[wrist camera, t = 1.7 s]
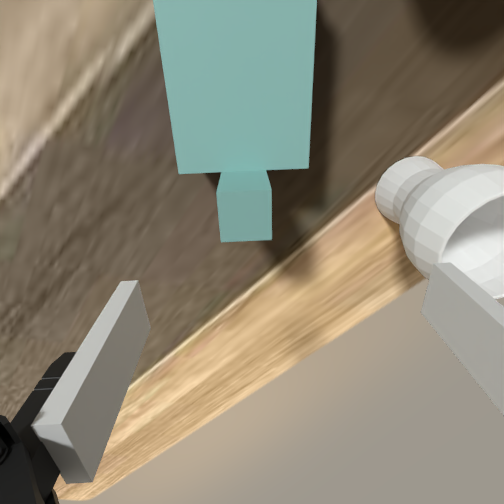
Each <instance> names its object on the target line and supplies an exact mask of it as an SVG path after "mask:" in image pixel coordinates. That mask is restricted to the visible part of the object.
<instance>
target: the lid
mask: <svg viewBox="0 0 504 504" xmlns="http://www.w3.org/2000/svg"><path fill="white" fill-rule="evenodd" d="M153 3H154V10H155V17H156V24H157V30H158V37H159V44H160V51H161V57H162V64H163V71H164V78H165V84H166V91H167V98H168V105H169V111H170V118H171V125H172V132H173V138H174V145H175V152H176V159H177V165H178V172H179V174H190V173H213V172H221V176H220V180H219V184H218V188H217V192H216V195H217V205H218V216H219V227H220V237H221V242H235V241H257V240H272V190H271V186H270V182H269V179H268V175H267V172H266V170H283V169H306V168H309V150H310V130H311V109H312V89H313V69H314V49H315V28H316V8H317V0H153Z"/></svg>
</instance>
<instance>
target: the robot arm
mask: <svg viewBox="0 0 504 504" xmlns="http://www.w3.org/2000/svg"><path fill="white" fill-rule="evenodd" d="M421 313H422V315H423V316H424V317H425V318H426V320H427V321H428V322H429V323H430V325H431V326H432V327H433V328H434V329H435V331H436V332H437V333H438V334H439V336H440V337H441V338H442V340H443V341H444V342H445V343H446V345H447V346H448V347H449V348H450V349H451V351H452V352H453V353H454V355H456V357H457V358H458V360H459V361H460V362H461V363H462V365H463V366H464V367H465V368H466V370H467V371H468V372H469V373H470V375H471V376H472V377H473V378H474V380H475V381H476V382H477V383H478V385H480V387H481V388H482V389H483V391H484V392H485V393H486V395H487V396H488V397H489V398H490V400H491V401H492V402H493V403H494V404H495V406H496V407H497V408H498V409H499V411H500V412H501V413H502V414H503V416H504V306H502V305H501V304H500V303H499V302H498V301H497V300H495V299H494V298H493V297H492V296H491V295H489V294H488V293H487V292H486V291H485V290H483V289H482V288H481V287H480V286H479V285H477V284H476V283H475V282H474V281H473V280H471V279H470V278H469V277H468V276H467V275H465V274H464V273H463V272H462V271H460V270H459V269H458V268H457V267H456V266H454V265H453V264H452V263H451V262H448V263H433V267H432V271H431V275H430V279H429V283H428V287H427V290H426V294H425V298H424V302H423V306H422V310H421ZM150 329H151V328H150V324H149V320H148V316H147V312H146V309H145V305H144V301H143V297H142V293H141V289H140V286H139V282H138V280H137V281H121V282H120V284H119V285H118V287H117V288H116V290H115V292H114V293H113V295H112V296H111V298H110V300H109V301H108V303H107V304H106V306H105V308H104V309H103V311H102V312H101V314H100V316H99V317H98V319H97V320H96V322H95V324H94V325H93V327H92V328H91V330H90V332H89V333H88V335H87V336H86V338H85V340H84V341H83V343H82V344H81V346H80V348H79V349H78V351H77V352H68V353H64V354H62V355H61V356H60V357H59V358H58V359H57V360H55V361H54V362H53V363H52V364H51V365H50V367H49V368H48V369H47V371H46V372H45V374H44V375H43V377H42V380H40V381H39V382H38V384H37V385H36V387H35V388H34V391H32V393H31V394H30V395H29V397H28V398H27V400H26V401H25V403H24V404H23V406H22V407H21V408H20V410H19V411H18V413H17V414H16V416H15V417H14V419H13V420H12V422H11V423H10V422H9V421H8V420H7V418H6V417H5V416H2V415H0V504H59V502H58V498H57V494H56V492H55V490H54V489H53V487H54V484H55V482H56V480H57V478H58V476H59V474H61V476H62V477H63V479H64V481H65V482H66V484H70V483H87V482H93V479H94V477H95V474H96V471H97V469H98V466H99V464H100V461H101V458H102V456H103V453H104V450H105V448H106V445H107V442H108V440H109V437H110V434H111V432H112V429H113V427H114V424H115V421H116V419H117V416H118V413H119V411H120V408H121V405H122V403H123V400H124V397H125V395H126V392H127V390H128V387H129V384H130V382H131V379H132V376H133V374H134V371H135V368H136V366H137V363H138V360H139V358H140V355H141V353H142V350H143V347H144V345H145V342H146V339H147V337H148V334H149V331H150Z"/></svg>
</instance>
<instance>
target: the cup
mask: <svg viewBox="0 0 504 504" xmlns="http://www.w3.org/2000/svg"><path fill="white" fill-rule="evenodd" d="M375 201H376V204H377V208H378V209H379V211H380V212H381V213H382V214H383V215H384V216H385V217H387V218H388V219H390V220H391V221H393V222H395V223H398V224H400V226H399V232H400V236H401V239H402V243H403V246H404V249H405V252H406V255H407V257H408V258H409V260H410V261H411V262H412V264H413V265H414V266H415V267H416V268H417V270H418V271H419V272H420V273H421V274H422V275H423V276H424V277H425V278H427V279H428V280H429V279H430V275H431V271H432V267H433V263H448V262H451V263H452V264H453V265H454V266H456V267H457V268H458V269H459V270H460V271H462V272H463V273H464V274H465V275H467V276H468V277H469V278H470V279H471V280H473V281H474V282H475V283H476V284H477V285H479V286H480V287H481V288H482V289H483V290H485V291H486V292H487V293H488V294H489V295H491V296H492V297H493V298H494V299H499V298H503V297H504V166H501V165H492V164H475V165H463V166H458V167H453V168H448V169H446V170H444V169H443V168H442V167H441V166H439V165H438V164H437V163H436V162H434V161H433V160H431V159H428V158H426V157H420V156H413V157H408V158H404V159H402V160H400V161H398V162H396V163H395V164H393V165H392V166H391V167H389V168H388V169H387V171H386V172H385V173H384V174H383V175H382V177H381V179H380V180H379V182H378V184H377V188H376V192H375Z"/></svg>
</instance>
